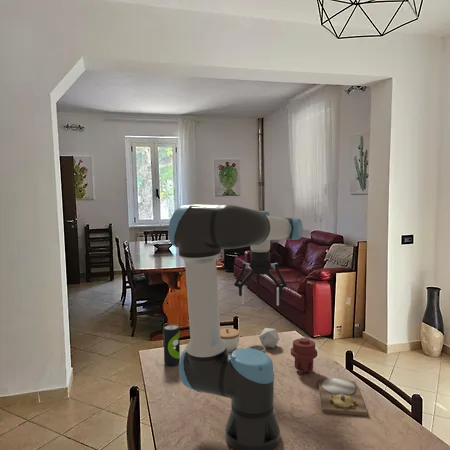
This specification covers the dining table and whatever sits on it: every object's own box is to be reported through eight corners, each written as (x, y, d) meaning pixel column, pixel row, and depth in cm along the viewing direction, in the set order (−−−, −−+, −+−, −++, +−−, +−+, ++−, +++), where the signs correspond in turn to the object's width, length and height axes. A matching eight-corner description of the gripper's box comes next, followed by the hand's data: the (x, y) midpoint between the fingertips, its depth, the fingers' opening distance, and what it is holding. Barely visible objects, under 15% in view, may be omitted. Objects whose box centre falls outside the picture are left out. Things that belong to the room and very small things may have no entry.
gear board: (367, 416, 117) (367, 405, 116) (323, 412, 119) (323, 402, 118) (355, 384, 136) (355, 375, 136) (317, 381, 138) (317, 372, 138)
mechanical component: (289, 365, 152) (315, 366, 151) (291, 376, 142) (319, 377, 141) (289, 334, 151) (315, 335, 150) (291, 344, 142) (319, 345, 141)
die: (258, 344, 176) (254, 332, 170) (272, 332, 179) (268, 320, 173) (269, 355, 170) (266, 343, 164) (284, 343, 173) (281, 331, 167)
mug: (268, 366, 152) (268, 349, 151) (254, 369, 149) (254, 352, 148) (255, 356, 161) (255, 341, 160) (241, 360, 158) (241, 344, 157)
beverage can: (164, 360, 157) (163, 324, 156) (179, 359, 159) (178, 323, 157) (164, 367, 151) (163, 330, 150) (180, 365, 152) (179, 328, 151)
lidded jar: (211, 346, 172) (211, 326, 171) (234, 343, 175) (234, 323, 175) (220, 356, 162) (219, 334, 161) (243, 352, 165) (243, 330, 165)
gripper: (292, 249, 152) (291, 302, 153) (229, 249, 155) (229, 301, 156) (293, 252, 145) (293, 307, 146) (227, 251, 147) (227, 306, 149)
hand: (260, 304), depth 151 cm, fingers open, 13 cm apart
